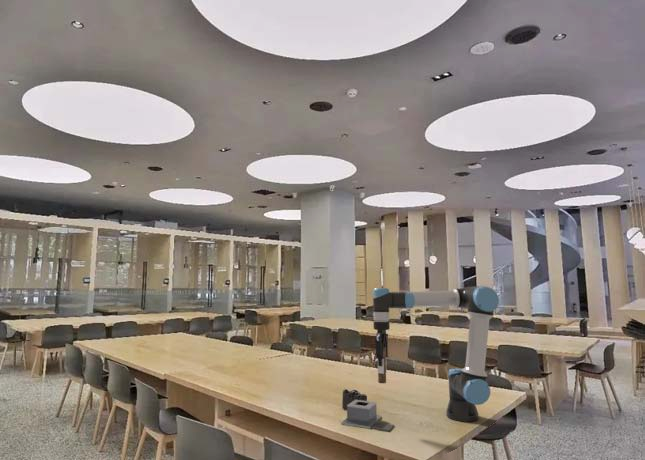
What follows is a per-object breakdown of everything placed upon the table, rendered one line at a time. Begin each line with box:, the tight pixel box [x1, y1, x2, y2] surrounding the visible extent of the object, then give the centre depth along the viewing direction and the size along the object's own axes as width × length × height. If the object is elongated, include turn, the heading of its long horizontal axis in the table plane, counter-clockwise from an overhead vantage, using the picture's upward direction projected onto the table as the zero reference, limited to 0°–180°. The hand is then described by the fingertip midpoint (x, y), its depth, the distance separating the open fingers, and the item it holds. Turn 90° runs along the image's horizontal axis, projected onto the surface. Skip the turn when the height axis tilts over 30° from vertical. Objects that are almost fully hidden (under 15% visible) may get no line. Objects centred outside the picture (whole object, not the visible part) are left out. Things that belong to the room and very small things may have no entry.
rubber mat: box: [371, 421, 395, 433], centre depth 184 cm, size 8×8×1 cm
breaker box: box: [341, 400, 382, 429], centre depth 194 cm, size 14×18×8 cm
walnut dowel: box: [377, 347, 387, 384], centre depth 188 cm, size 4×4×16 cm
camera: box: [341, 388, 368, 411], centre depth 212 cm, size 14×11×10 cm
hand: (382, 372), depth 187 cm, fingers closed on walnut dowel, 3 cm apart
